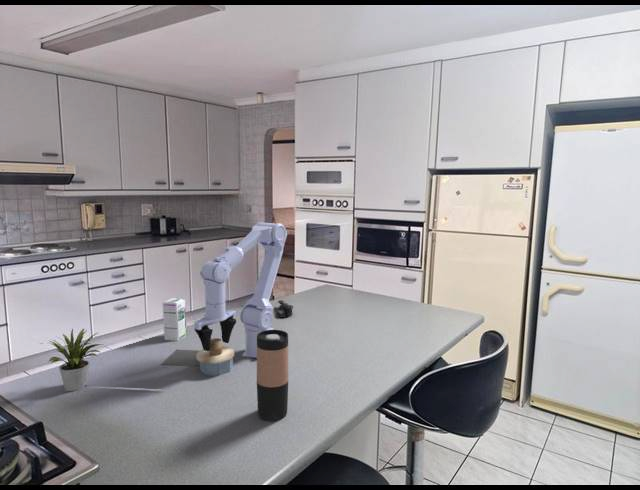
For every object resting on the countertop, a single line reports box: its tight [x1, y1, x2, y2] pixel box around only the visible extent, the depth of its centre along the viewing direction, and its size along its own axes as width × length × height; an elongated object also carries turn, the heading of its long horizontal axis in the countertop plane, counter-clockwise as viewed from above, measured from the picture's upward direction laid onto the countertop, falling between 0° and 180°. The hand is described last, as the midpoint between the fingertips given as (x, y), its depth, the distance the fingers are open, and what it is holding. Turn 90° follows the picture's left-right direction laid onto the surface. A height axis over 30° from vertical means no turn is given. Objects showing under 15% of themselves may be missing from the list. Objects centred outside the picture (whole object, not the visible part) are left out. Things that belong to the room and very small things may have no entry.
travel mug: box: [256, 329, 289, 422], centre depth 99 cm, size 8×8×20 cm
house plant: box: [39, 328, 105, 392], centre depth 109 cm, size 14×14×16 cm
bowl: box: [199, 357, 234, 377], centre depth 123 cm, size 9×9×4 cm
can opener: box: [276, 300, 294, 318], centre depth 182 cm, size 18×7×6 cm, turn 14°
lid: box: [197, 338, 235, 364], centre depth 122 cm, size 11×11×5 cm
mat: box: [159, 349, 200, 368], centre depth 131 cm, size 12×12×1 cm
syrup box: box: [162, 297, 188, 342], centre depth 147 cm, size 6×6×14 cm
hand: (216, 346), depth 122 cm, fingers open, 7 cm apart
